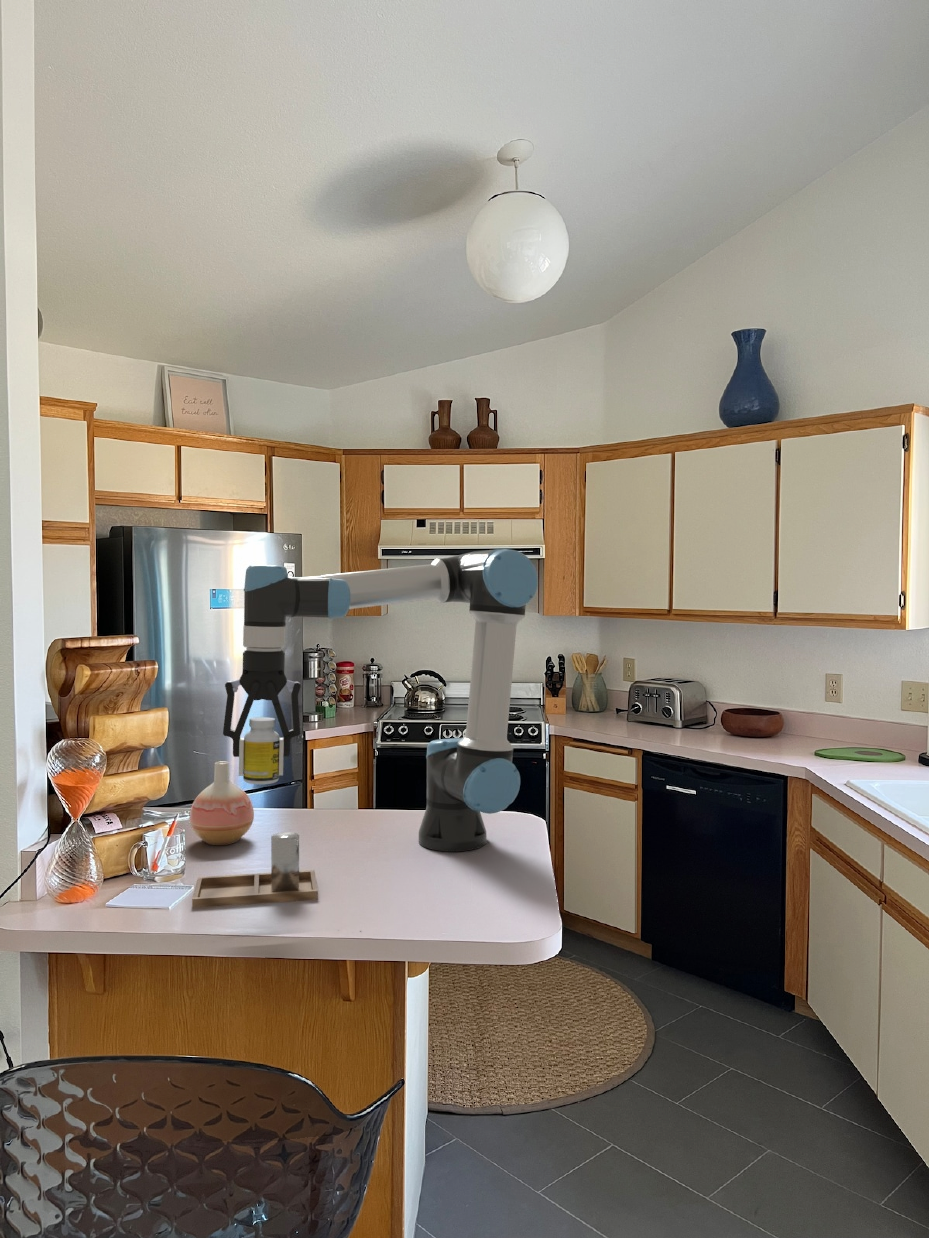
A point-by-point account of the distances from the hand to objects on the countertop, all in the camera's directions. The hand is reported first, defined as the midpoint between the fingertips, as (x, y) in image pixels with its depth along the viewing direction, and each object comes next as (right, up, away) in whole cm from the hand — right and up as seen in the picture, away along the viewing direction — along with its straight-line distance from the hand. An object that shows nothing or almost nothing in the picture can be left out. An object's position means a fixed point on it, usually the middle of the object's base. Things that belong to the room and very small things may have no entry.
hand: (261, 773), depth 163 cm
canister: (+5, -21, -1) cm, 22 cm away
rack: (0, -22, -2) cm, 22 cm away
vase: (-16, -21, +33) cm, 42 cm away
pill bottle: (0, -2, 0) cm, 2 cm away
